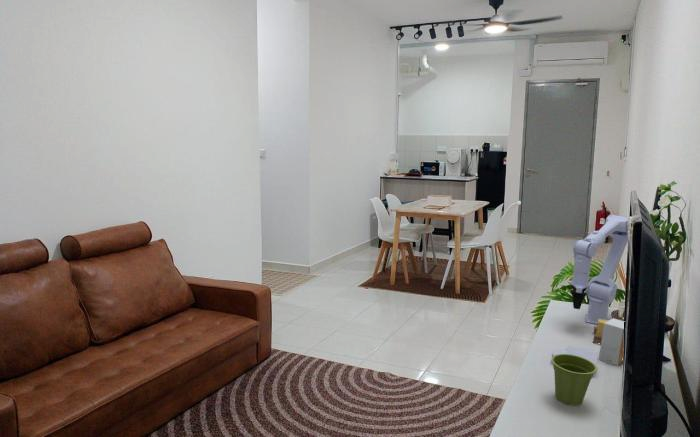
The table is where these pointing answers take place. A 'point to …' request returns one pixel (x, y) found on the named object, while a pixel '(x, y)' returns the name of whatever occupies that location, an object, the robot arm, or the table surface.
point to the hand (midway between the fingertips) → (576, 305)
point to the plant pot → (572, 377)
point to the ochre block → (600, 326)
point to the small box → (612, 342)
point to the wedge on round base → (577, 353)
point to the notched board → (597, 336)
